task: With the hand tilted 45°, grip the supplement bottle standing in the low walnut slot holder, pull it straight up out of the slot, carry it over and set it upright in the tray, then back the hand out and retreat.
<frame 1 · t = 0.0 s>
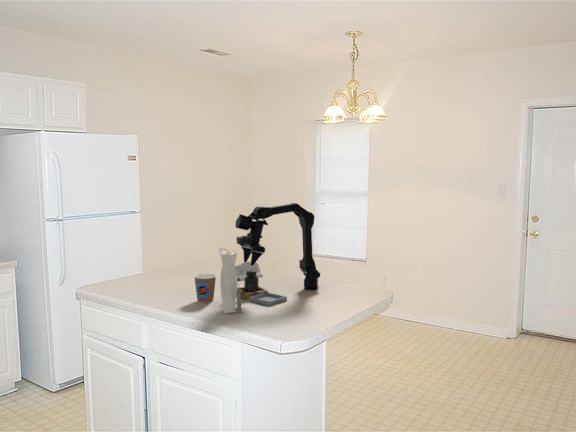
hand: (248, 263, 246), 15 cm above the countertop, tool pointing down, fingers open, 9 cm apart
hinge: (247, 278, 287), on the countertop
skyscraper: (229, 312, 219), on the countertop
supplement bottle: (251, 295, 247), resting in slot holder
coffee cup: (205, 301, 236), on the countertop
tray: (268, 301, 237), on the countertop
slot holder: (251, 295, 247), on the countertop
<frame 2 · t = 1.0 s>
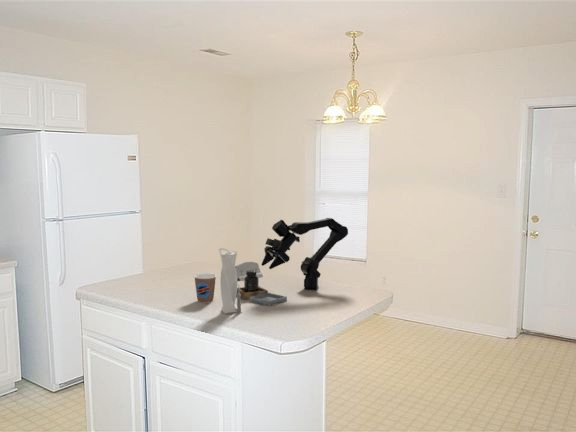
hand: (265, 266, 249), 13 cm above the countertop, tool tilted 45°, fingers open, 9 cm apart
nothing on the countertop moved.
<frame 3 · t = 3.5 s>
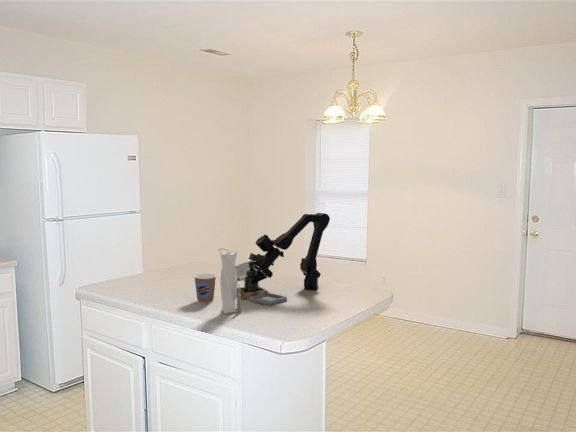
hand: (248, 282, 246), 7 cm above the countertop, tool tilted 45°, fingers closed on supplement bottle, 7 cm apart
supplement bottle: (251, 295, 247), resting in slot holder, touching gripper
everything else where it was.
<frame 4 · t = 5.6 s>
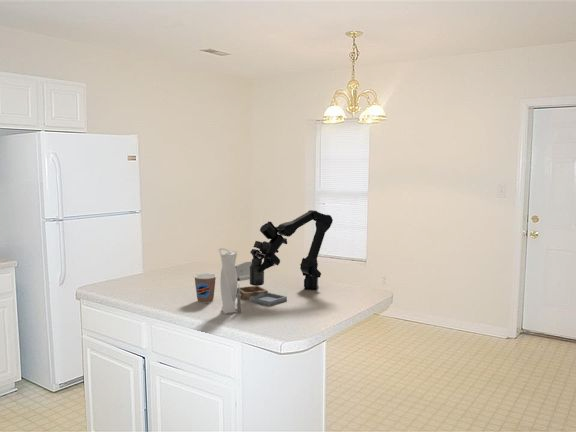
hand: (254, 270, 241), 13 cm above the countertop, tool tilted 45°, fingers closed on supplement bottle, 7 cm apart
supplement bottle: (256, 284, 242), point 6 cm above the countertop, touching gripper
everything else where it was.
when the fingers open (8 cm above the countertop, at t = 7.9 s): supplement bottle stays where it is, resting on tray.
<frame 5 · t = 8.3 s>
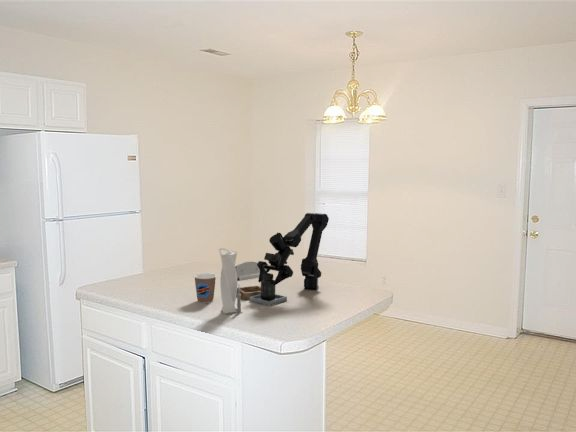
hand: (266, 283, 235), 9 cm above the countertop, tool tilted 45°, fingers open, 9 cm apart
supplement bottle: (267, 300, 237), resting on tray
everything else where it was.
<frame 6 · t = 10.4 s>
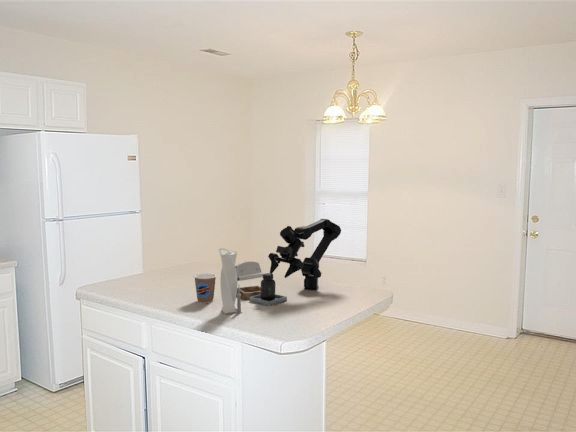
hand: (277, 275, 243), 11 cm above the countertop, tool tilted 45°, fingers open, 9 cm apart
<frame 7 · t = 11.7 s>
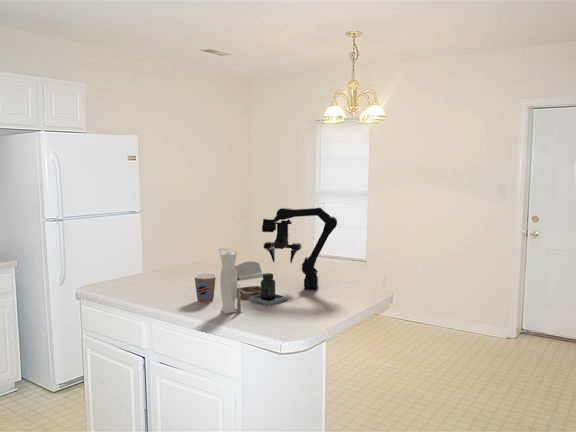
hand: (282, 262, 263), 13 cm above the countertop, tool pointing down, fingers open, 9 cm apart
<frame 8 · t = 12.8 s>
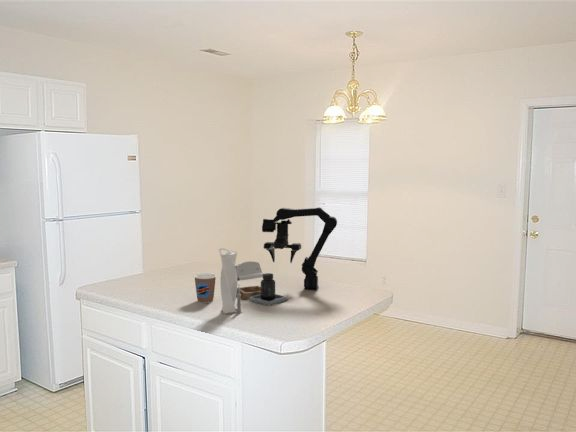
hand: (282, 262, 263), 13 cm above the countertop, tool pointing down, fingers open, 9 cm apart
at the end: supplement bottle inside the target area on the tray (0.4 cm from its centre), point 0.4 cm above the tray's base; supplement bottle tilted 0°; the gripper is holding nothing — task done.
